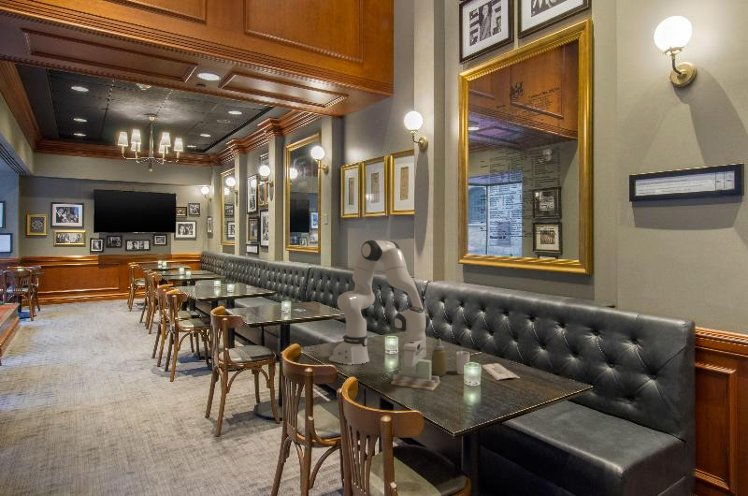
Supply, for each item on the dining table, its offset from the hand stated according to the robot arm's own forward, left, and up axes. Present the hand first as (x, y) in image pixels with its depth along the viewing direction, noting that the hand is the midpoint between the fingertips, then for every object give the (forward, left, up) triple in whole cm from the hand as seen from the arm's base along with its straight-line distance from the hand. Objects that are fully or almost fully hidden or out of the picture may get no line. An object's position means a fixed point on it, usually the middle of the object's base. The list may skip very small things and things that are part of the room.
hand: (415, 371), depth 207 cm
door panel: (0, 0, -4) cm, 4 cm away
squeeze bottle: (+6, +17, -6) cm, 19 cm away
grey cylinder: (+16, +25, -6) cm, 30 cm away
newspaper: (+33, +33, -6) cm, 47 cm away
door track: (0, 0, -6) cm, 6 cm away
